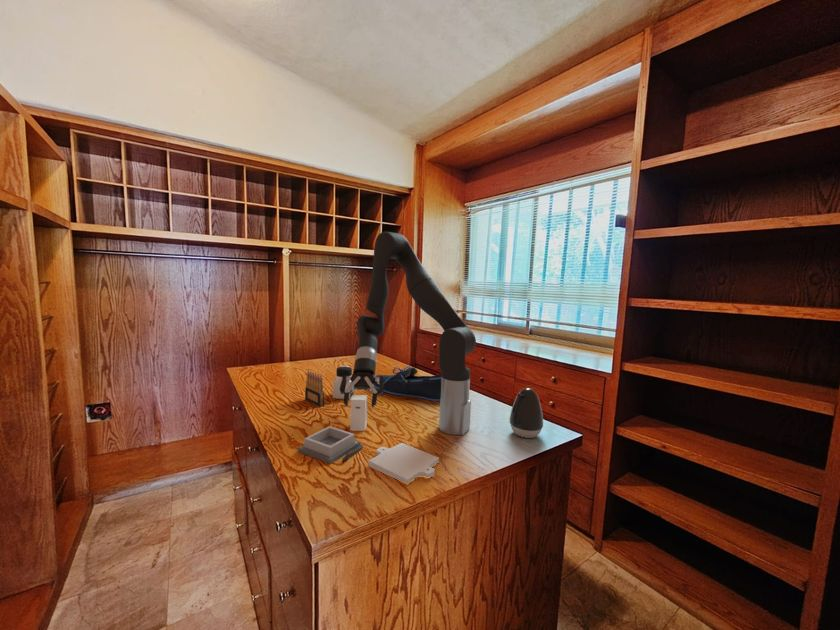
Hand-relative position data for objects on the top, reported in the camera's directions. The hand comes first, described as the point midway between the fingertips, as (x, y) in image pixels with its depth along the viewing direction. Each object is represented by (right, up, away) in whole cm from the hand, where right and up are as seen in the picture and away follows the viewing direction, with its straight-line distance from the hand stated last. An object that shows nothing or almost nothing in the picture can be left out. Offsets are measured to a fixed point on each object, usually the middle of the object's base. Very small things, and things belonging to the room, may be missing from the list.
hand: (359, 405), depth 111 cm
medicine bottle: (-11, -4, +28) cm, 31 cm away
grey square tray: (-6, -8, -15) cm, 18 cm away
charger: (0, -7, -1) cm, 7 cm away
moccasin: (+15, -4, +34) cm, 38 cm away
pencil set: (-21, -4, +20) cm, 29 cm away
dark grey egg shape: (+53, -9, -1) cm, 54 cm away
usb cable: (+1, -9, -17) cm, 19 cm away
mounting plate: (+15, -10, -22) cm, 28 cm away
